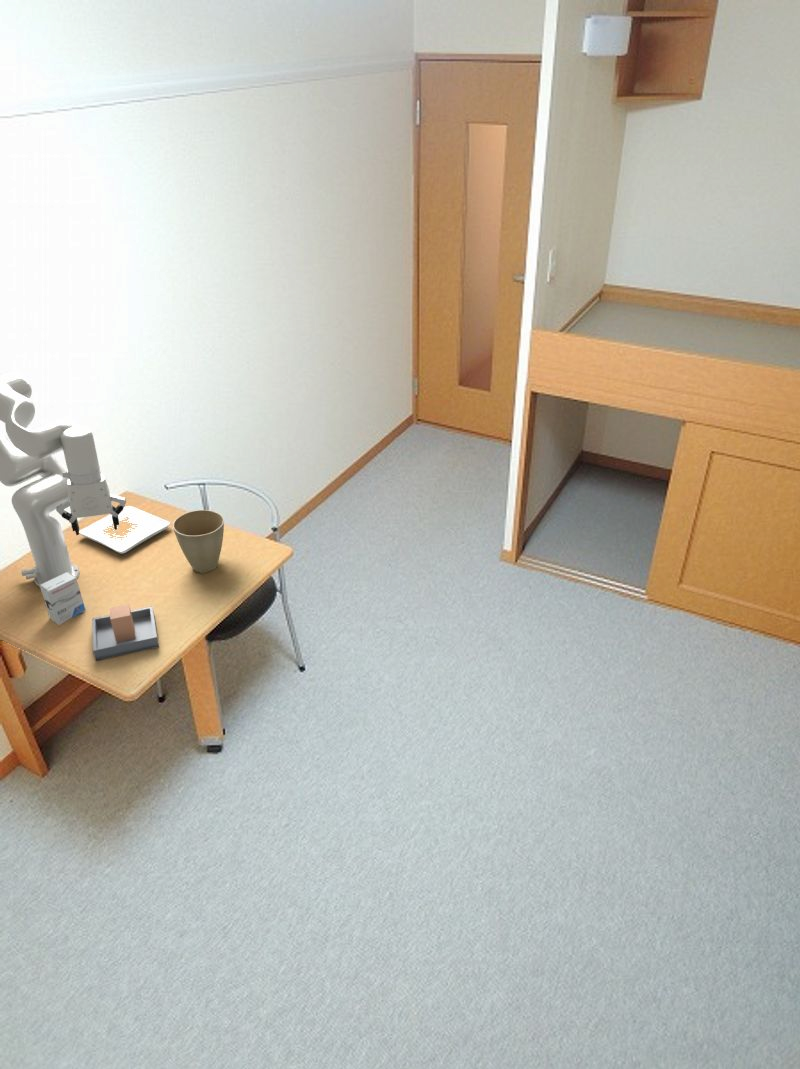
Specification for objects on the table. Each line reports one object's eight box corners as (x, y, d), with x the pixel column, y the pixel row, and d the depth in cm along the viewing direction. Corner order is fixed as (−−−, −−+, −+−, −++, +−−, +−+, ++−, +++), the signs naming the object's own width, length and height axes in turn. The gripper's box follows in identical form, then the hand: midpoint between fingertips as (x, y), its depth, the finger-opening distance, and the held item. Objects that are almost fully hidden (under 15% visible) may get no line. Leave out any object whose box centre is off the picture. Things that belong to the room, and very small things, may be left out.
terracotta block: (116, 642, 201) (110, 619, 196) (115, 631, 205) (109, 608, 200) (135, 638, 202) (130, 615, 198) (134, 627, 206) (129, 604, 202)
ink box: (77, 603, 216) (67, 570, 210) (86, 610, 214) (76, 577, 207) (49, 618, 211) (38, 584, 204) (58, 625, 208) (47, 591, 202)
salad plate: (173, 530, 251) (172, 521, 249) (123, 560, 235) (120, 551, 234) (130, 512, 260) (128, 503, 258) (78, 540, 245) (76, 531, 243)
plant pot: (192, 586, 224) (184, 541, 215) (173, 562, 234) (165, 519, 225) (238, 569, 231) (232, 525, 223) (217, 547, 241) (211, 504, 233)
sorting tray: (95, 660, 196) (93, 650, 194) (94, 628, 207) (91, 618, 205) (159, 647, 201) (156, 637, 199) (154, 615, 212) (152, 606, 210)
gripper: (47, 485, 187) (62, 542, 197) (120, 477, 192) (131, 532, 202) (49, 471, 193) (62, 526, 202) (120, 463, 198) (130, 518, 207)
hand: (97, 529), depth 202 cm, fingers open, 9 cm apart
